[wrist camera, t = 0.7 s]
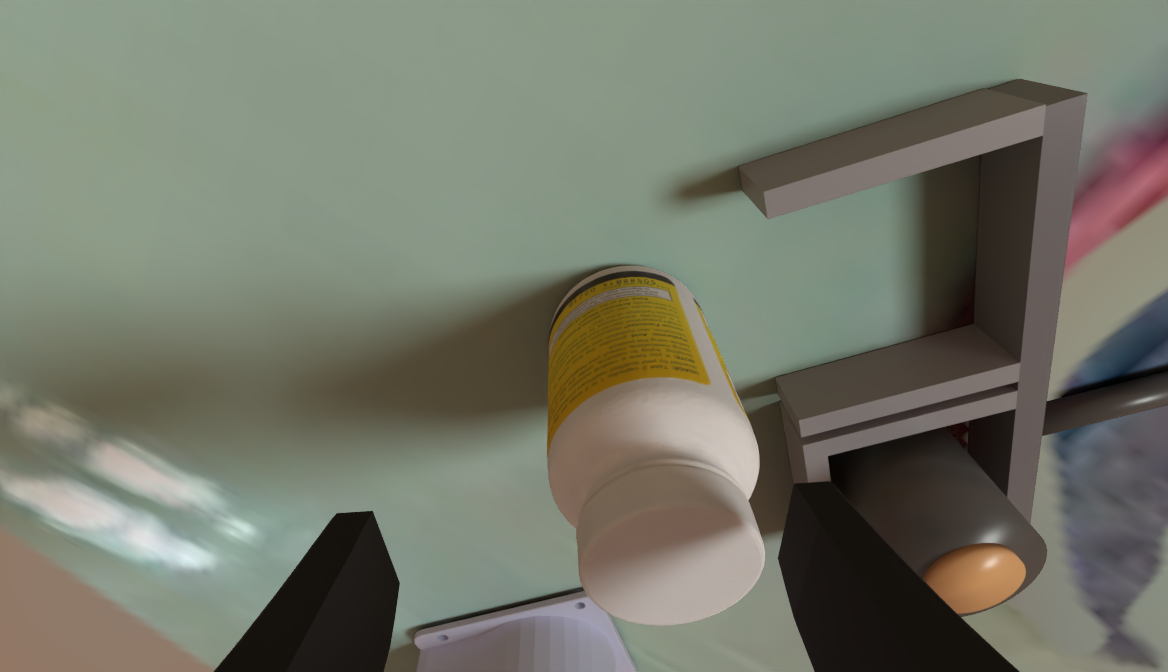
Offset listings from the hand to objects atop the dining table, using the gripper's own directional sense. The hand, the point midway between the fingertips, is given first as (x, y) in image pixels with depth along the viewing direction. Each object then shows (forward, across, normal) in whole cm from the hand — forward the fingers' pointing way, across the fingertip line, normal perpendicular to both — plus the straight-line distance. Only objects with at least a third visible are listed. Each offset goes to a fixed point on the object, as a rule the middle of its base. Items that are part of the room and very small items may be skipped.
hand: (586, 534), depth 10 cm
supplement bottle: (+11, -2, +3) cm, 11 cm away
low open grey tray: (+11, -16, +3) cm, 19 cm away
